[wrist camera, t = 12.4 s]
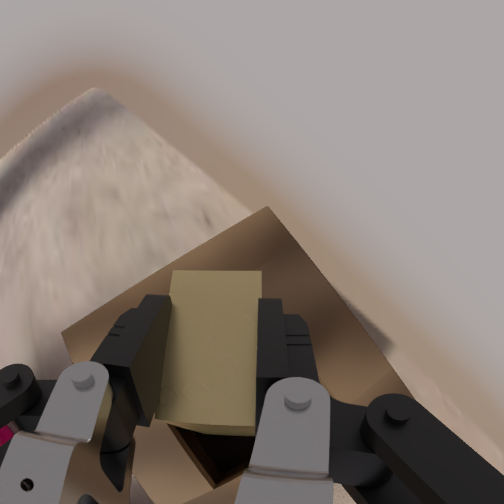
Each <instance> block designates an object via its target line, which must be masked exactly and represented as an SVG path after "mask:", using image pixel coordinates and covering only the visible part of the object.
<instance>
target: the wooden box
mask: <svg viewBox="0 0 504 504" xmlns="http://www.w3.org/2000/svg"><path fill="white" fill-rule="evenodd" d="M173 270H196V271H262V298H281V299H282V306H283V314H299V315H300V316H301V317H302V318H303V319H304V321H305V322H306V323H307V324H308V329H309V334H310V338H311V343H312V348H313V352H314V357H315V362H316V367H317V372H318V377H319V381H320V383H321V384H322V386H323V387H324V388H325V389H326V390H327V392H328V393H329V395H330V396H331V397H333V398H334V399H336V400H338V401H341V402H344V403H349V404H354V405H361V406H367V407H368V405H369V404H370V403H371V401H372V400H374V399H375V398H376V397H378V396H381V395H384V394H389V393H397V394H403V395H406V396H409V397H411V398H413V399H414V397H413V396H412V394H411V393H410V391H409V390H408V389H407V387H406V386H405V384H404V383H403V381H402V380H401V379H400V377H399V376H398V374H397V373H396V372H395V370H394V369H393V367H392V366H391V365H390V363H389V362H388V361H387V359H386V358H385V356H384V355H383V354H382V352H381V351H380V350H379V348H378V347H377V345H376V344H375V343H374V341H373V340H372V339H371V337H370V336H369V335H368V333H367V332H366V331H365V329H364V328H363V327H362V325H361V324H360V322H359V321H358V320H357V318H356V317H355V316H354V315H353V313H352V312H351V311H350V309H349V308H348V307H347V305H346V304H345V303H344V301H343V300H342V299H341V297H340V296H339V295H338V293H337V292H336V291H335V290H334V288H333V287H332V286H331V284H330V283H329V282H328V281H327V279H326V278H325V277H324V275H323V274H322V273H321V272H320V270H319V269H318V268H317V266H316V265H315V264H314V263H313V261H312V260H311V259H310V258H309V257H308V255H307V254H306V253H305V251H304V250H303V249H302V248H301V246H300V245H299V244H298V243H297V241H296V240H295V239H294V238H293V236H292V235H291V234H290V233H289V231H288V230H287V229H286V228H285V226H284V225H283V224H282V223H281V222H280V220H279V219H278V218H277V217H276V215H275V214H274V213H273V212H272V211H271V209H270V208H269V207H268V206H267V207H265V208H263V209H261V210H260V211H258V212H256V213H254V214H253V215H251V216H249V217H247V218H246V219H244V220H242V221H240V222H239V223H237V224H235V225H234V226H232V227H230V228H229V229H227V230H225V231H223V232H222V233H220V234H218V235H217V236H215V237H213V238H212V239H210V240H208V241H207V242H205V243H203V244H202V245H200V246H198V247H196V248H195V249H193V250H191V251H190V252H188V253H187V254H185V255H183V256H182V257H180V258H178V259H177V260H175V261H173V262H172V263H170V264H168V265H167V266H165V267H164V268H162V269H160V270H159V271H157V272H155V273H154V274H152V275H151V276H149V277H147V278H146V279H144V280H142V281H141V282H139V283H138V284H136V285H134V286H133V287H131V288H130V289H128V290H126V291H125V292H123V293H122V294H120V295H119V296H117V297H115V298H114V299H112V300H111V301H109V302H107V303H106V304H104V305H103V306H101V307H100V308H98V309H97V310H95V311H93V312H92V313H90V314H89V315H87V316H86V317H84V318H83V319H81V320H80V321H78V322H76V323H75V324H73V325H72V326H70V327H69V328H67V329H66V330H64V331H63V332H61V334H62V337H63V339H64V342H65V344H66V347H67V350H68V352H69V355H70V357H71V359H72V362H73V364H75V363H79V362H84V361H90V359H91V357H92V356H93V354H94V353H95V351H96V350H97V348H98V347H99V345H100V344H101V342H102V341H103V340H104V338H105V337H106V335H108V332H109V331H110V329H111V328H112V327H113V325H114V323H115V322H116V321H117V319H118V318H119V316H120V315H122V314H123V313H125V312H126V311H128V310H129V309H131V308H137V307H138V306H139V304H140V303H141V301H142V300H143V298H144V297H145V295H147V294H156V295H169V292H170V285H171V279H172V273H173ZM154 417H155V412H154V415H153V418H152V421H151V424H150V427H144V426H138V425H136V428H135V431H134V434H133V436H134V438H135V442H136V446H135V453H134V460H133V468H132V473H133V475H134V476H135V478H136V479H137V480H138V482H139V483H140V485H141V486H142V488H143V489H144V490H145V492H146V493H147V494H148V496H149V497H150V499H151V500H152V501H153V503H154V504H234V503H235V500H236V496H237V492H238V489H239V485H240V482H241V478H242V475H243V473H244V470H245V469H246V468H248V466H249V463H250V460H251V459H249V460H247V461H246V462H244V463H242V464H240V465H238V466H237V467H235V468H233V469H231V470H229V471H227V472H225V473H223V474H222V473H221V472H220V471H219V469H218V468H217V467H216V465H215V464H214V463H213V461H212V460H211V458H210V457H209V456H208V454H207V453H206V452H205V450H204V449H203V447H202V446H201V445H200V443H199V442H198V440H197V439H196V437H195V436H194V434H193V433H192V432H191V430H189V429H185V428H181V427H178V426H175V425H171V424H168V423H165V422H162V421H159V420H156V419H154Z"/></svg>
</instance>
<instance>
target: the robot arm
mask: <svg viewBox="0 0 504 504" xmlns="http://www.w3.org/2000/svg"><path fill="white" fill-rule="evenodd" d="M171 309H172V301H171V297H170V296H169V295H156V294H147V295H145V297H144V298H143V300H142V301H141V303H140V304H139V306H138V307H137V308H131V309H129V310H128V311H126V312H125V313H123V314H122V315H120V316H119V318H118V319H117V321H116V322H115V323H114V325H113V327H112V328H111V329H110V331H109V332H108V335H106V337H105V338H104V340H103V341H102V342H101V344H100V345H99V347H98V348H97V350H96V351H95V353H94V354H93V356H92V357H91V359H90V361H84V362H79V363H75V364H73V365H71V366H69V367H68V368H66V369H65V370H64V371H63V372H62V373H61V375H60V376H59V378H58V380H36V378H35V376H34V374H33V372H32V370H31V369H30V368H29V367H28V366H26V365H24V364H12V365H9V366H6V367H4V368H3V369H1V370H0V429H1V428H2V427H4V426H5V425H7V424H8V423H9V422H11V421H12V422H13V424H14V425H15V427H16V428H17V430H18V432H17V433H16V434H15V435H14V436H13V438H11V439H10V440H8V441H7V442H6V443H4V444H3V445H2V446H0V504H130V485H131V477H132V468H133V460H134V453H135V446H136V442H135V438H134V436H133V434H134V431H135V428H136V425H138V426H144V427H150V424H151V421H152V418H153V415H154V412H155V409H156V406H157V404H158V401H159V398H160V392H161V383H162V374H163V366H164V358H165V350H166V343H167V336H168V329H169V322H170V315H171ZM255 437H256V439H255V444H254V448H253V452H252V456H251V460H250V463H249V466H248V468H246V469H245V470H244V473H243V475H242V478H241V482H240V485H239V489H238V492H237V496H236V500H235V503H234V504H333V483H339V484H342V486H343V487H344V489H345V490H346V491H347V492H348V494H349V495H350V496H351V497H352V498H353V500H354V501H355V502H356V503H357V504H504V475H502V474H501V473H500V472H499V471H498V470H497V469H495V468H494V467H493V466H492V465H491V464H489V463H488V462H487V461H486V460H485V459H484V458H482V457H481V456H480V455H479V454H478V453H477V452H475V451H474V450H473V449H472V448H471V447H470V446H468V445H467V444H466V443H465V442H464V441H463V440H461V439H460V438H459V437H458V436H457V435H456V434H454V433H453V432H452V431H451V430H450V429H449V428H447V427H446V426H445V425H444V424H443V423H442V422H441V421H439V420H438V419H437V418H436V417H435V416H434V415H432V414H431V413H430V412H429V411H428V410H427V409H425V408H424V407H423V406H422V405H421V404H420V403H418V402H417V401H416V400H415V399H413V398H411V397H409V396H406V395H403V394H397V393H389V394H384V395H381V396H378V397H376V398H375V399H374V400H372V401H371V403H370V404H369V405H368V407H367V406H361V405H354V404H349V403H344V402H341V401H338V400H336V399H334V398H333V397H331V396H330V395H329V393H328V392H327V390H326V389H325V388H324V387H323V386H322V385H321V384H320V381H319V377H318V372H317V367H316V362H315V357H314V352H313V348H312V343H311V338H310V334H309V329H308V324H307V323H306V322H305V321H304V319H303V318H302V317H301V316H300V315H299V314H283V306H282V299H281V298H258V329H257V366H256V413H255Z"/></svg>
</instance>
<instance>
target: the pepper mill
mask: <svg viewBox="0 0 504 504" xmlns="http://www.w3.org/2000/svg"><path fill="white" fill-rule="evenodd" d="M13 436H14V434H13V433H12V431H11V430H10V429H9V428H8V426H6V425H5V426H4V427H2V428H1V429H0V446H2V445H3V444H4V443H6V442H7V441H8V440H10V439H11V438H13Z"/></svg>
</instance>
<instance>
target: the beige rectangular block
mask: <svg viewBox="0 0 504 504" xmlns="http://www.w3.org/2000/svg"><path fill="white" fill-rule="evenodd" d="M169 296H170V297H171V301H172V309H171V315H170V322H169V329H168V336H167V343H166V350H165V358H164V366H163V374H162V383H161V392H160V398H159V401H158V404H157V406H156V409H155V417H154V419H156V420H159V421H162V422H165V423H168V424H171V425H175V426H178V427H181V428H185V429H189V430H192V431H196V432H200V433H203V434H210V435H229V436H255V413H256V366H257V329H258V298H262V271H196V270H173V273H172V279H171V285H170V292H169Z"/></svg>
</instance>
